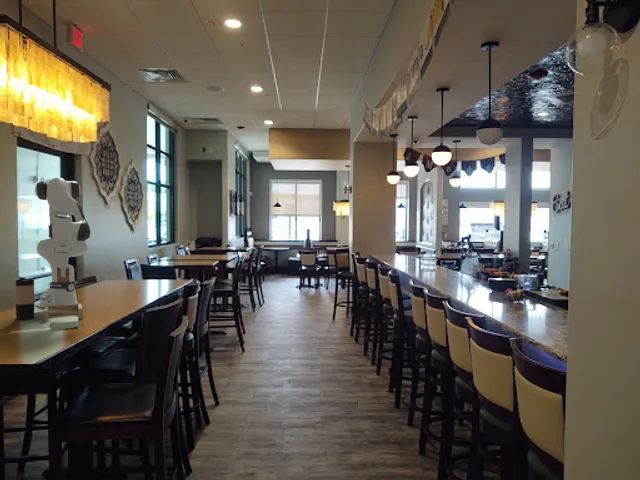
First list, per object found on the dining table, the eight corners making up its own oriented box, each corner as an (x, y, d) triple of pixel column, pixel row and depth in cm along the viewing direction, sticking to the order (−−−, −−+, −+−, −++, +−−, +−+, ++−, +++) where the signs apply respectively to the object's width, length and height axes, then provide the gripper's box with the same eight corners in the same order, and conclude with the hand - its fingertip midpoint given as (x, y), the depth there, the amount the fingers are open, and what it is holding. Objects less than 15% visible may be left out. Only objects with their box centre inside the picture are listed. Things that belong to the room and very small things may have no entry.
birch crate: (45, 317, 221) (45, 305, 221) (81, 314, 229) (81, 303, 229) (43, 324, 207) (43, 311, 207) (82, 320, 215) (82, 308, 215)
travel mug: (12, 321, 211) (11, 280, 211) (27, 318, 219) (27, 278, 218) (22, 323, 209) (22, 281, 208) (38, 319, 216) (37, 279, 215)
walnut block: (57, 281, 215) (57, 267, 214) (69, 280, 217) (69, 266, 217) (57, 282, 210) (57, 267, 210) (69, 281, 213) (69, 267, 213)
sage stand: (51, 325, 205) (51, 318, 205) (78, 322, 211) (78, 316, 211) (50, 330, 196) (50, 323, 196) (78, 327, 202) (78, 320, 201)
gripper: (55, 247, 221) (56, 274, 221) (54, 248, 203) (55, 278, 203) (70, 247, 224) (70, 274, 224) (70, 248, 206) (70, 277, 206)
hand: (63, 276), depth 214 cm, fingers closed on walnut block, 5 cm apart
